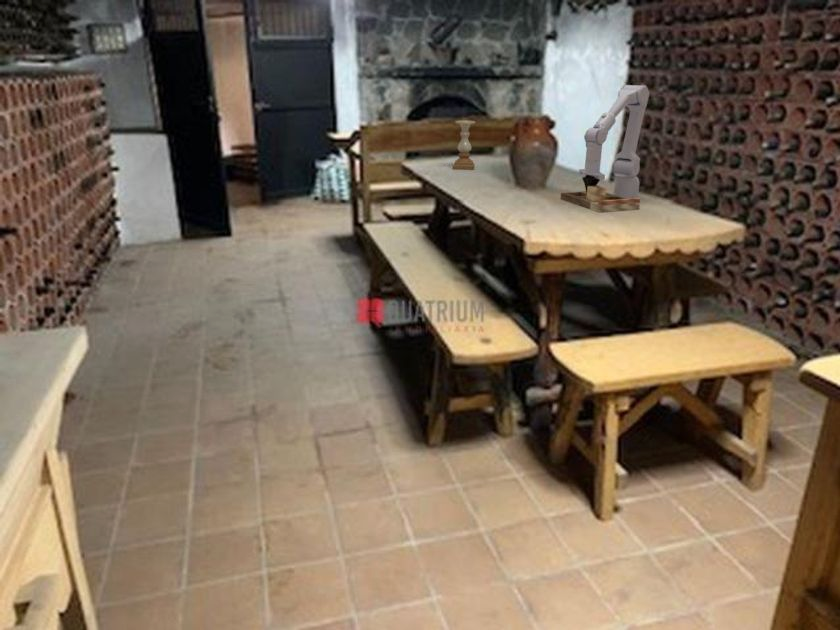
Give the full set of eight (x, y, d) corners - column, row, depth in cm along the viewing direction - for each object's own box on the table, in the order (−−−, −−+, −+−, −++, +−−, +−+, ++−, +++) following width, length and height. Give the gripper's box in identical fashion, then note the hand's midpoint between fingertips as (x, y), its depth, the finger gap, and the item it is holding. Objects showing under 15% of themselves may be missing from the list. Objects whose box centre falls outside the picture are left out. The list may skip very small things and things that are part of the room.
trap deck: (597, 196, 273) (598, 186, 271) (639, 209, 249) (640, 198, 248) (560, 199, 267) (561, 189, 265) (599, 212, 243) (600, 201, 242)
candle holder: (454, 166, 350) (455, 120, 342) (474, 166, 349) (476, 120, 340) (453, 169, 340) (454, 121, 331) (474, 169, 339) (475, 122, 330)
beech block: (597, 198, 256) (598, 185, 254) (604, 200, 251) (606, 187, 250) (586, 198, 254) (587, 186, 252) (593, 201, 250) (595, 188, 248)
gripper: (573, 158, 256) (570, 192, 261) (595, 163, 244) (591, 199, 249) (589, 157, 259) (585, 191, 264) (611, 162, 246) (607, 198, 251)
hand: (589, 195), depth 256 cm, fingers closed
